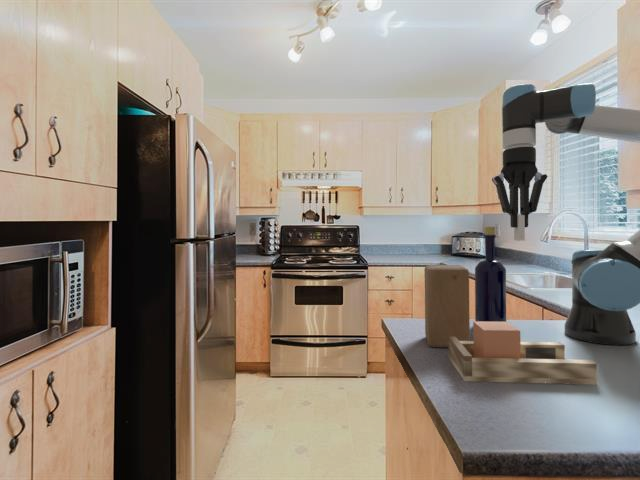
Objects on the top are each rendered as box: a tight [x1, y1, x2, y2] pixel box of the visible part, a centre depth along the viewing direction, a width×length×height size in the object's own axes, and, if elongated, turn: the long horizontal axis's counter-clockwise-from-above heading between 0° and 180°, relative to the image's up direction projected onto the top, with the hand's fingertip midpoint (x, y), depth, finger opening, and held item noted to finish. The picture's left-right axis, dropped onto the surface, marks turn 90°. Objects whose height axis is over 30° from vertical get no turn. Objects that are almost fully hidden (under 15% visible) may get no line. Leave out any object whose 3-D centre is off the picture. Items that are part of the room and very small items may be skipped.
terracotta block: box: [472, 320, 521, 359], centre depth 77 cm, size 7×7×8 cm
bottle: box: [474, 226, 507, 322], centre depth 108 cm, size 9×9×30 cm
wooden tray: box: [448, 336, 598, 386], centre depth 77 cm, size 24×13×5 cm, turn 83°
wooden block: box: [424, 264, 471, 349], centre depth 95 cm, size 10×10×20 cm
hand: (519, 240), depth 95 cm, fingers closed
